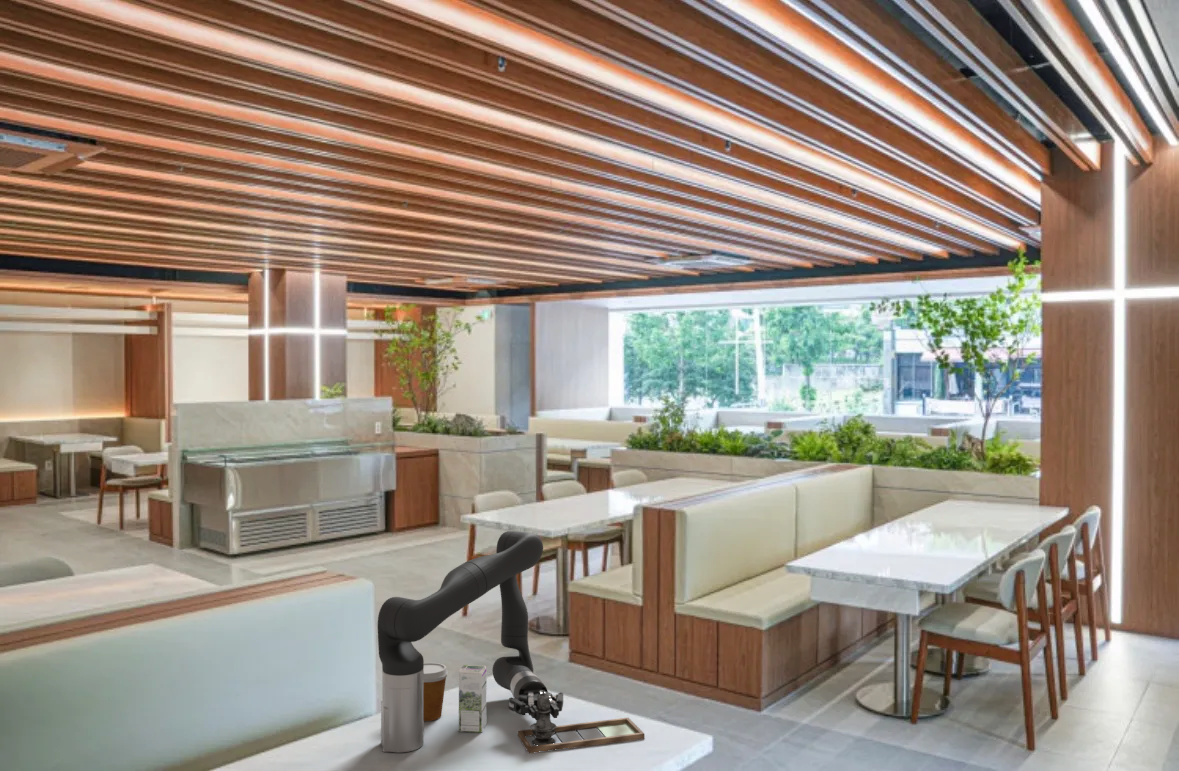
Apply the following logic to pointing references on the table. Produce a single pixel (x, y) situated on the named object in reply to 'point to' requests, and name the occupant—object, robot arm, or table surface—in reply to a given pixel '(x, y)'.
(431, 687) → the disposable coffee cup
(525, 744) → the tray
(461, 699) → the syrup box
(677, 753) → the table surface
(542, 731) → the salt shaker
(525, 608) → the robot arm
